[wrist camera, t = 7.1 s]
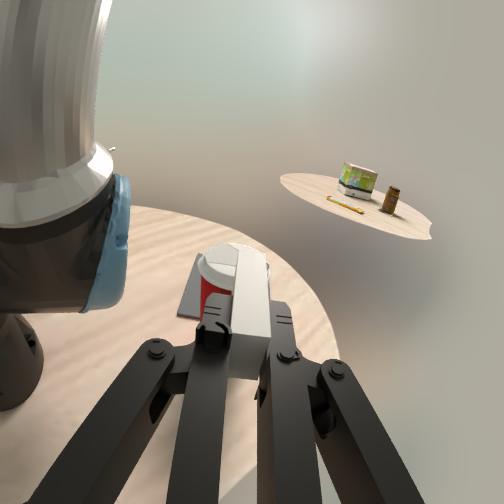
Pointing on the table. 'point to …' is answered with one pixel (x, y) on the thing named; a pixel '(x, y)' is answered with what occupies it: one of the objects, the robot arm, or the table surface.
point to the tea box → (357, 181)
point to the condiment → (390, 201)
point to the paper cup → (220, 270)
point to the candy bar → (344, 204)
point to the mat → (194, 293)
